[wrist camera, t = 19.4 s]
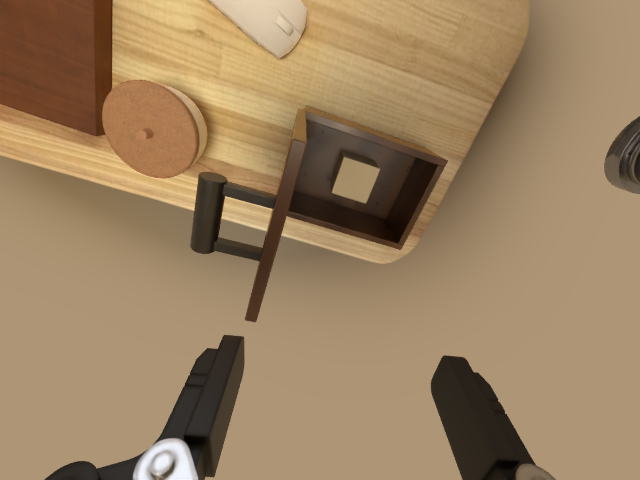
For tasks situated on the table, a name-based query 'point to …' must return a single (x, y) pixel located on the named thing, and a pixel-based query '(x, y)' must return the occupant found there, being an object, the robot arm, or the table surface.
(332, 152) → the chest
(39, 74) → the brown flat wooden slab
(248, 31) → the computer mouse
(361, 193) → the block
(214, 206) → the lid
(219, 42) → the table surface
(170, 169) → the trinket box
